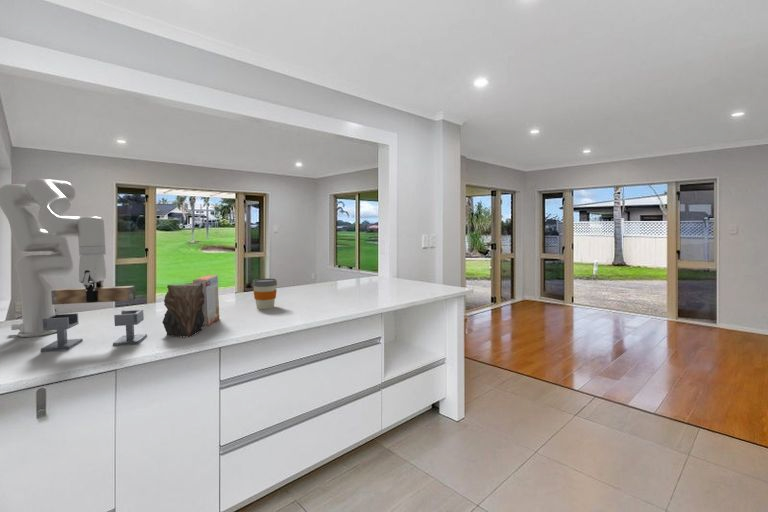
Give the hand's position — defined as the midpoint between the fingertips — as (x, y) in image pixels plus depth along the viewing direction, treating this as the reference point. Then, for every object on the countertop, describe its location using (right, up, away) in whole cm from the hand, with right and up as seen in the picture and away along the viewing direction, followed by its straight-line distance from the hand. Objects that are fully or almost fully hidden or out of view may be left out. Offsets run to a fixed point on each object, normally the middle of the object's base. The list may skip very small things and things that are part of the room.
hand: (95, 300), depth 133 cm
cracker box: (+26, -14, +32) cm, 43 cm away
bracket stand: (0, -16, +1) cm, 16 cm away
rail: (0, 0, 0) cm, 0 cm away
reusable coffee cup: (+41, -12, +65) cm, 78 cm away
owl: (+25, -15, +15) cm, 33 cm away
